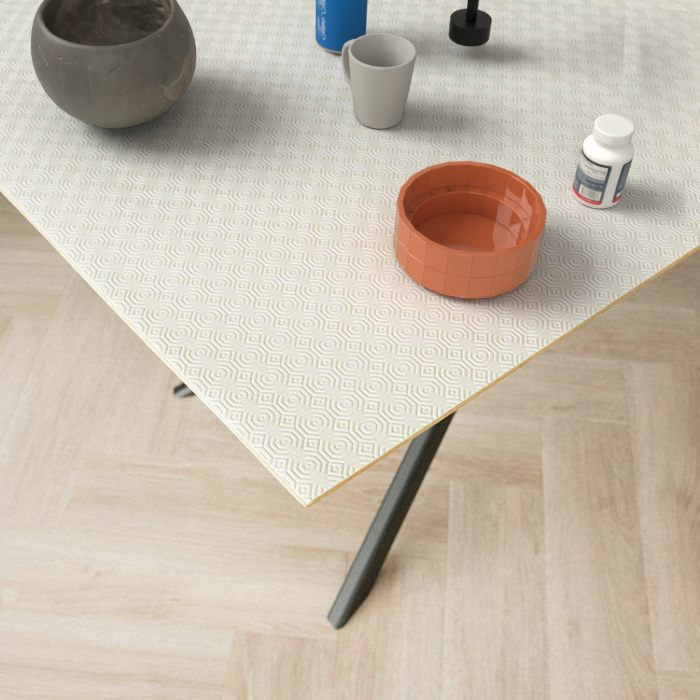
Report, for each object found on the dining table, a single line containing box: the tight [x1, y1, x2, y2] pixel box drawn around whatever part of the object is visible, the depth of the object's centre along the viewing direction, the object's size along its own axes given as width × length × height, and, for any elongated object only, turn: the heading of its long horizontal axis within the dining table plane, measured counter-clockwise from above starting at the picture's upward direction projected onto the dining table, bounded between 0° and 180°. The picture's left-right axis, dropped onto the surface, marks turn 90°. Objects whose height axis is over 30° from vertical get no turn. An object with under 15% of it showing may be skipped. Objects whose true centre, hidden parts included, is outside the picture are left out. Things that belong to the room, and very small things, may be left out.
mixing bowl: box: [392, 160, 548, 300], centre depth 89 cm, size 14×14×6 cm
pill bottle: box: [571, 113, 635, 209], centre depth 95 cm, size 5×5×9 cm
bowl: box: [30, 0, 198, 129], centre depth 102 cm, size 18×18×13 cm
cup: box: [340, 32, 418, 130], centre depth 104 cm, size 8×10×8 cm
